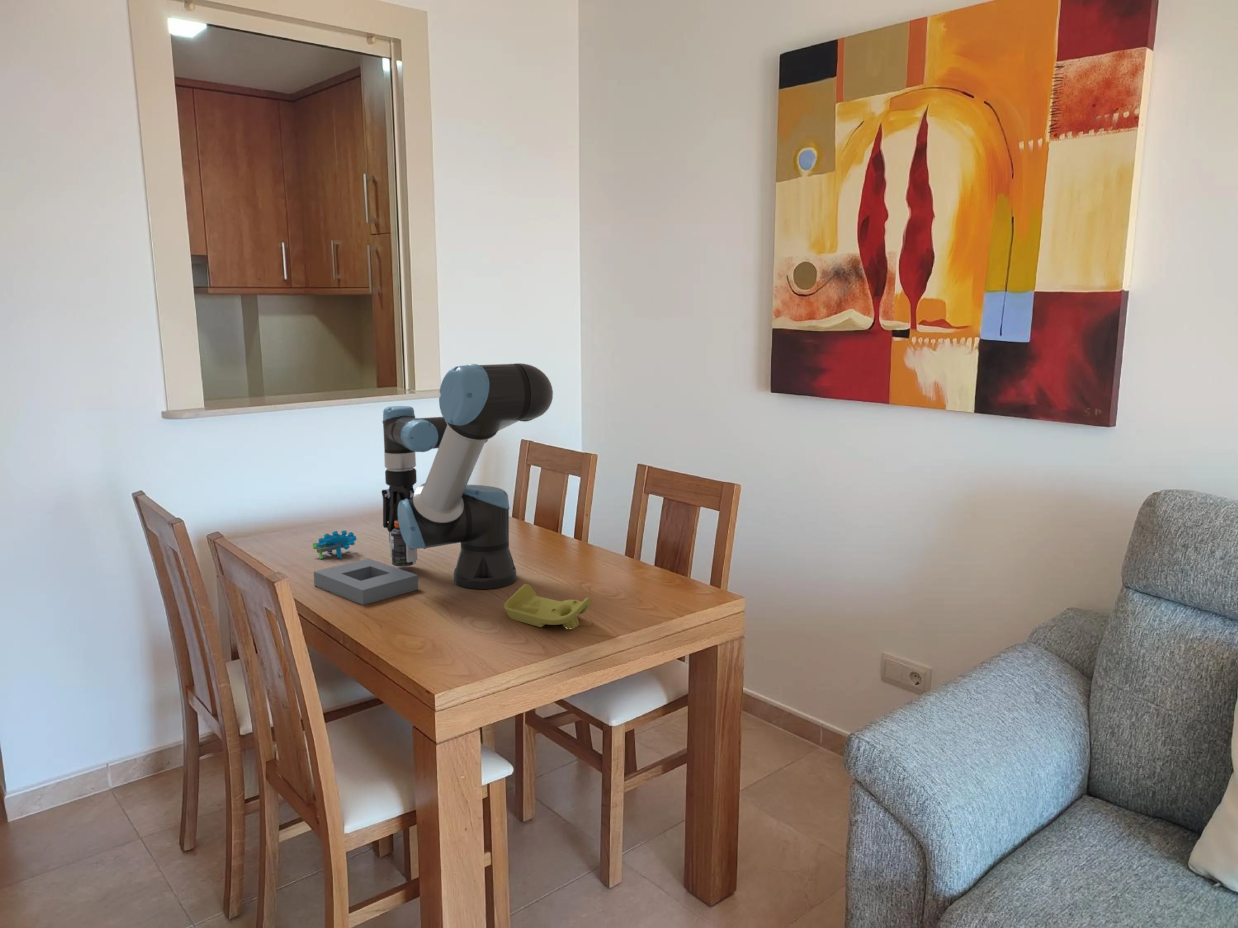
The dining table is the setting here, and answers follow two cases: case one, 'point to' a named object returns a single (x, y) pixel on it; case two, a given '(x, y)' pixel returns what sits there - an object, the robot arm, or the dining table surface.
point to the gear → (334, 543)
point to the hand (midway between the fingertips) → (403, 558)
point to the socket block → (366, 581)
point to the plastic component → (544, 609)
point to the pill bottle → (399, 548)
